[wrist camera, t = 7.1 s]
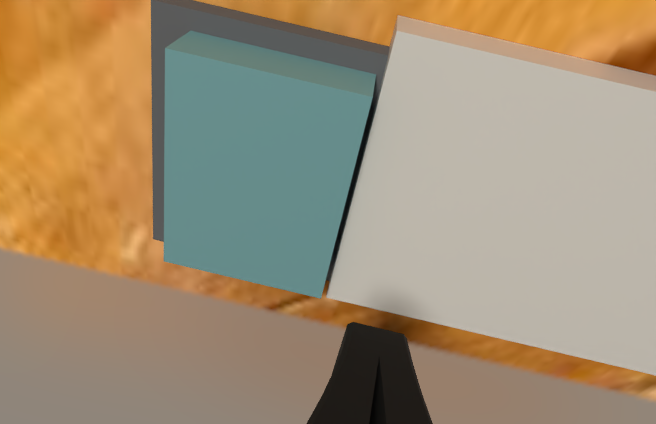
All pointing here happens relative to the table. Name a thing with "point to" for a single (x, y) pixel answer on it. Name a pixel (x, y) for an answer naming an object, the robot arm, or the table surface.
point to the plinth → (508, 196)
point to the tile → (258, 159)
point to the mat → (187, 15)
